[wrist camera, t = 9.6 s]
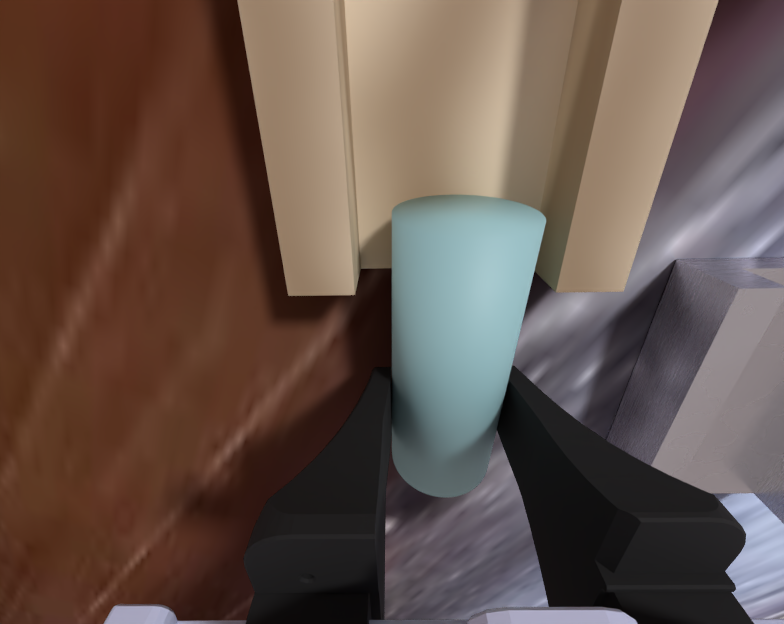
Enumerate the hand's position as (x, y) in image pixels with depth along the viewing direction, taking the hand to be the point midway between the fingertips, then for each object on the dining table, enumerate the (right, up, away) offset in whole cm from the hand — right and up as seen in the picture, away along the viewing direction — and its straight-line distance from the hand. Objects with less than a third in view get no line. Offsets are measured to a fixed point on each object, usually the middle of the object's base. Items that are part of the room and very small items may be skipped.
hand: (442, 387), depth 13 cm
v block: (+13, 0, +2) cm, 13 cm away
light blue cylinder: (0, +1, -2) cm, 2 cm away
